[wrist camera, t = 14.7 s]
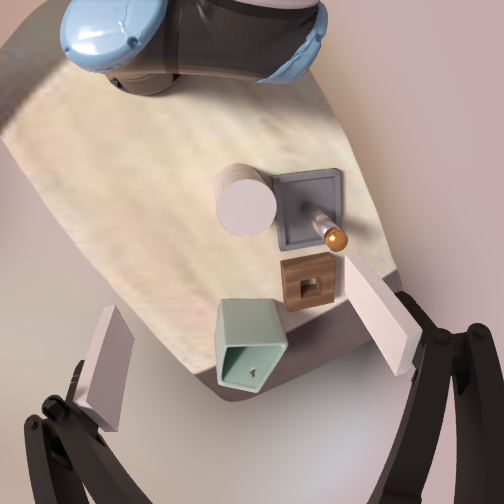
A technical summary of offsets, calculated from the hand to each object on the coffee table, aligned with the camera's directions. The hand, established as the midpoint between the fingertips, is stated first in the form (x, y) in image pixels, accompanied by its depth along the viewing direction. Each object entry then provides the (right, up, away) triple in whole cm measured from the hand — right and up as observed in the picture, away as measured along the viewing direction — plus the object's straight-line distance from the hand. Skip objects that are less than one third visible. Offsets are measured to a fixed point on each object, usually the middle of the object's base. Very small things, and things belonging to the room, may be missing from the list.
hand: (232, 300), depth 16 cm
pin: (+11, +10, +37) cm, 40 cm away
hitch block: (+12, -3, +44) cm, 46 cm away
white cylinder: (-1, +14, +34) cm, 36 cm away
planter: (-3, -10, +46) cm, 47 cm away
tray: (+11, +11, +37) cm, 40 cm away
